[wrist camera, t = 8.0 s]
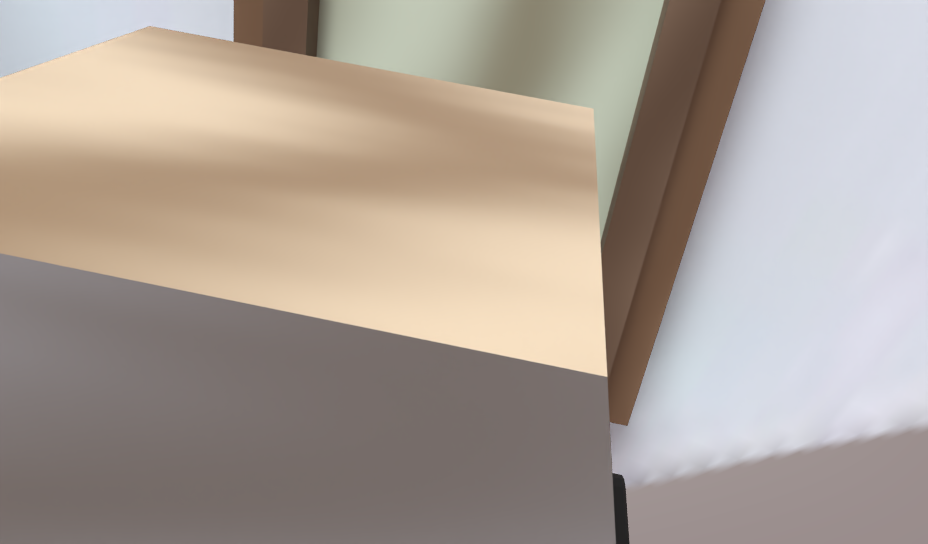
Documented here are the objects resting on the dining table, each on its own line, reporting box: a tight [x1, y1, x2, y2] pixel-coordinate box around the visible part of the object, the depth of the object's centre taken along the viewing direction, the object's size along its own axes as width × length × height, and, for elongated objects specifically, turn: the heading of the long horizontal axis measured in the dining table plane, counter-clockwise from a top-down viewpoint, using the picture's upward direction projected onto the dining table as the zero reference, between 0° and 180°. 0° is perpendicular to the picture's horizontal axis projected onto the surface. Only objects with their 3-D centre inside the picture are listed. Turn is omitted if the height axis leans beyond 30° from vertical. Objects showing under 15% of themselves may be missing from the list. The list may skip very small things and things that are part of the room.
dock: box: [234, 0, 765, 426], centre depth 23 cm, size 14×18×5 cm
